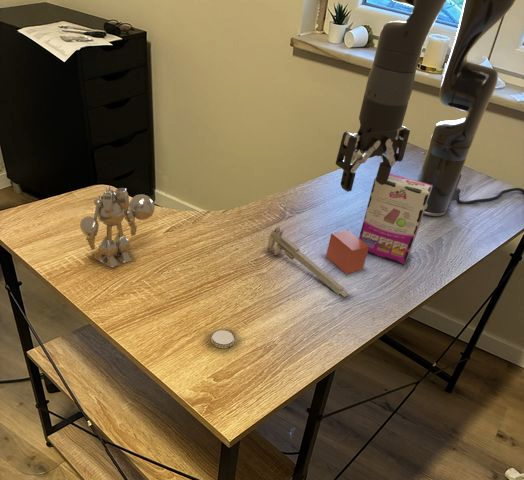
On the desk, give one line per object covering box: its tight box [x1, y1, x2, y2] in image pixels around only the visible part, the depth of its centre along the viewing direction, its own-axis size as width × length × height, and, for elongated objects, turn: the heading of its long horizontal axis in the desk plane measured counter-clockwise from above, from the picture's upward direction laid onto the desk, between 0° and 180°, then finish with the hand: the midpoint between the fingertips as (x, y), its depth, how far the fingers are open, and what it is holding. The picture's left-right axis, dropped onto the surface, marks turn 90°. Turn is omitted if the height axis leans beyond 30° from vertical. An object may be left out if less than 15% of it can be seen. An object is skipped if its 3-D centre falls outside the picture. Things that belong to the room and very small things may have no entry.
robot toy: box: [79, 185, 156, 268], centre depth 98 cm, size 15×6×15 cm, turn 134°
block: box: [325, 229, 369, 275], centre depth 109 cm, size 4×7×6 cm, turn 32°
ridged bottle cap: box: [210, 329, 236, 349], centre depth 88 cm, size 4×4×1 cm
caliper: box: [267, 226, 348, 298], centre depth 104 cm, size 20×1×6 cm, turn 47°
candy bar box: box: [358, 173, 433, 265], centre depth 110 cm, size 11×5×16 cm, turn 66°
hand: (363, 186), depth 100 cm, fingers open, 8 cm apart
